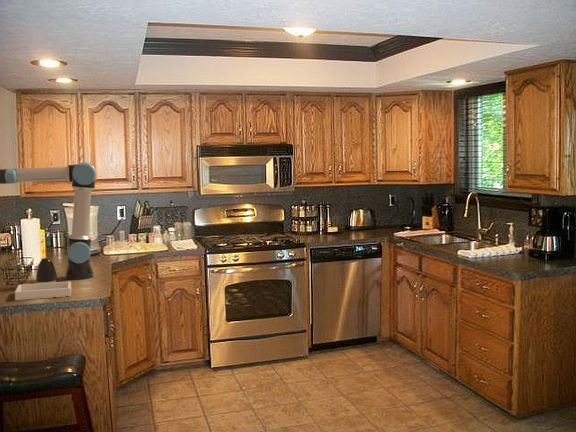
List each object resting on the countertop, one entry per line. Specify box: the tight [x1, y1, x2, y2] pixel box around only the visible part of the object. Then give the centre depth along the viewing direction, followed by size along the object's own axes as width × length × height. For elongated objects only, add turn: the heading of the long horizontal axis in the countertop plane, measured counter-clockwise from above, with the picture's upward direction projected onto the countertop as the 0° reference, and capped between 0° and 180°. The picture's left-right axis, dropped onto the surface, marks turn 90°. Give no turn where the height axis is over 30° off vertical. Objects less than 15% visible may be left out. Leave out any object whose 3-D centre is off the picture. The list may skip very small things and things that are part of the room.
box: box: [14, 280, 72, 301], centre depth 291 cm, size 24×18×4 cm
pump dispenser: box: [35, 257, 58, 284], centre depth 309 cm, size 10×10×15 cm
